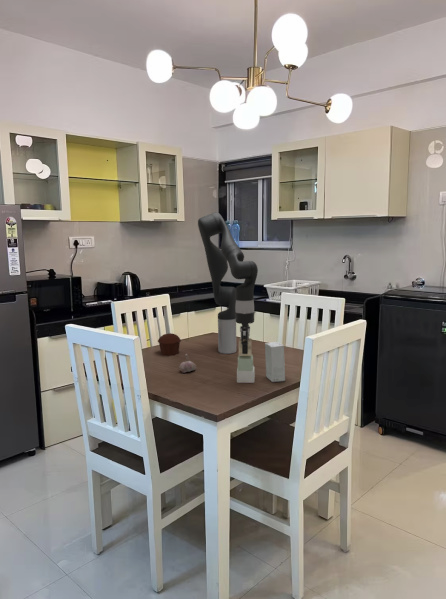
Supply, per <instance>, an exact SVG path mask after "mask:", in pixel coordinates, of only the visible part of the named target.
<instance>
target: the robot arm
mask: <svg viewBox="0 0 446 599" xmlns="http://www.w3.org/2000/svg"><path fill="white" fill-rule="evenodd" d="M197 227H198V230H199V234H200V237H201V240H202V244H203V246H204V251H205V256H206V257H205V258H206V262H207V267H208V270H209V271H208V272H209V275H210V277H211V278H210V279H211V284H212V285H211V286H212V291H213V299H214V302H215V304H216V305H219V306H228V308H227V309H225V310H222V311H219V312H218V313H217V328H218V329H217V342H218V343H217V345H218V348H217V349H218V350H217V351H218V353H220V354H224V355H225V354H229V355H230V354H234V353H237V324H241V326H239V333H240V338H241V341H242V342H241V344H242V354H247V353H248V339H249V338H250V332H251V326H250V324H253V323H254V322H255V303H254V301H255V300H254V289H255V285H256V281H257V277H258V271H259V269H258V265H257V263H256V262H255V261H253V260H245V255H244V253H243V251H242V250H241V248H240V247H239V246H238V244H237V242H236V241H235V240H234V237H233V235H232V233H231V231H230V230H229V227H228V225H227V223H226V221H225V219H224V218H223V216H222V215H221V214H220V213H219V212H212V213H210V214H207V215H204V216H202V217H199V218H198V220H197ZM218 234H222V239H221V244H220V248H219V247H218V246H217V245H216V244H214V243H213V242H212V241H211V237H213V236H216V235H218ZM244 260H245V261H244ZM229 269H230V273H231V276H232V277H233V278H234V279H237V280H244V281H243V283H241V284H239V285H237V286H236V287H234V286H221V283H222V280H223V278H224V277H225V276H226V274H227V272H228V270H229ZM243 339H246V341H243Z"/></svg>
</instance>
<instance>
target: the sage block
mask: <svg viewBox="0 0 446 599" xmlns="http://www.w3.org/2000/svg"><path fill="white" fill-rule="evenodd" d="M253 366H254V354H251V356H239V354H238V356H237V368H238V371H253Z"/></svg>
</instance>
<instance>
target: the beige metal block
mask: <svg viewBox="0 0 446 599" xmlns="http://www.w3.org/2000/svg"><path fill="white" fill-rule="evenodd" d="M243 341H246V339H243ZM241 342H242V341H241V337H239V338H238V355H239V356H251V355H252V353H253V352H252V338H251V337H249V339H248V353H247V354H242V344H241Z"/></svg>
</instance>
